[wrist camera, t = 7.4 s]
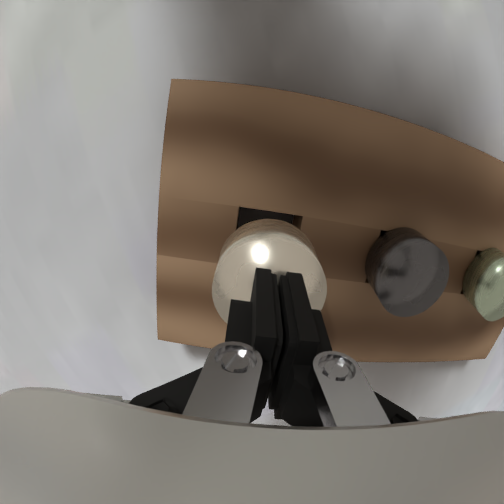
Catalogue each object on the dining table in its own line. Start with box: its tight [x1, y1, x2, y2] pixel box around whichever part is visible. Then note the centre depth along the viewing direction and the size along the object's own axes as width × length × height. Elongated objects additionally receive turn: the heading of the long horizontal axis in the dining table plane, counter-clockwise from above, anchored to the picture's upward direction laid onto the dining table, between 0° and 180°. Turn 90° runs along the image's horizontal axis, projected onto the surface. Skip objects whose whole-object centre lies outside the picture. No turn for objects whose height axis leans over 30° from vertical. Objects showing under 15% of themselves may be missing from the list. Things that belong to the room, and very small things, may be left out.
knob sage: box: [463, 248, 504, 321], centre depth 17 cm, size 4×4×5 cm
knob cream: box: [212, 219, 327, 323], centre depth 14 cm, size 4×4×5 cm
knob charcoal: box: [365, 227, 449, 317], centre depth 17 cm, size 4×4×5 cm
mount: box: [157, 79, 504, 362], centre depth 19 cm, size 16×28×3 cm, turn 81°
